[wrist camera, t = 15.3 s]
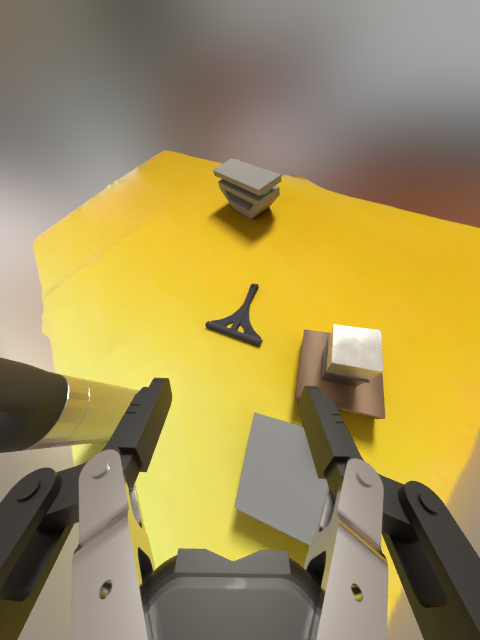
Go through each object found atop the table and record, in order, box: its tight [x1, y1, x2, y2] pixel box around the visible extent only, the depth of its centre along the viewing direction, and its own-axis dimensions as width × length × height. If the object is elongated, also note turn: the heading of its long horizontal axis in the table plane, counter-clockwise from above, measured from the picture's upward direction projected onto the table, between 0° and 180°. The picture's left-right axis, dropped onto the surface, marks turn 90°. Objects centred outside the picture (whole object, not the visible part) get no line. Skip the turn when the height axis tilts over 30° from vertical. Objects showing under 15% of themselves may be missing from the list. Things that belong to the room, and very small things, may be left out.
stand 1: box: [235, 413, 328, 546], centre depth 27 cm, size 12×12×4 cm
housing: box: [321, 325, 383, 387], centre depth 26 cm, size 5×5×10 cm
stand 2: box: [296, 330, 385, 419], centre depth 32 cm, size 12×12×4 cm
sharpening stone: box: [213, 159, 281, 219], centre depth 60 cm, size 25×8×11 cm, turn 36°
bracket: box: [206, 284, 263, 347], centre depth 44 cm, size 14×15×3 cm
